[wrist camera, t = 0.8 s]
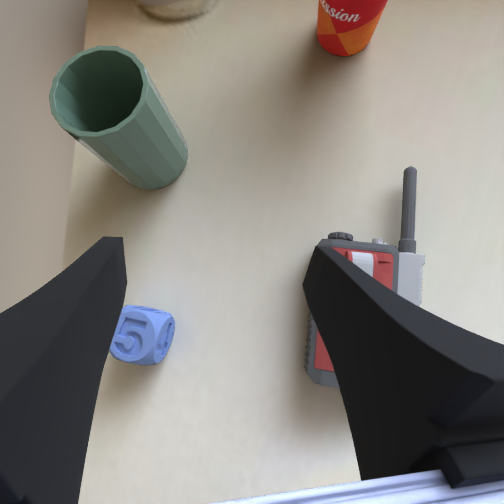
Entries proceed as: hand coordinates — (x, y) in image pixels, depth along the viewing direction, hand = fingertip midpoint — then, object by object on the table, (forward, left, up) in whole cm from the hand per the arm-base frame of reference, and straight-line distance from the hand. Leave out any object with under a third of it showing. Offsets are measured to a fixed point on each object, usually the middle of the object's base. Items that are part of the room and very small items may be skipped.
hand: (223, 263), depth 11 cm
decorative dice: (-5, +9, -16) cm, 19 cm away
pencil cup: (+12, +12, -16) cm, 23 cm away
